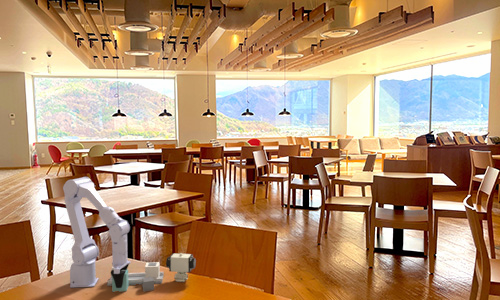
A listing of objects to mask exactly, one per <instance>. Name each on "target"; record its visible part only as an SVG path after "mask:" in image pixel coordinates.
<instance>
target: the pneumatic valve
mask: <svg viewBox="0 0 500 300" xmlns="http://www.w3.org/2000/svg"><path fill="white" fill-rule="evenodd" d="M196 263H197V260H196V258H195V257H194V254H193V253H192V254H191V253H182V252H180V253H173V252H172V254H171V255H169V256H167V257H166V261H165V267H166V268H167V269H168V271H169V272H172V273H173V272H174V280H175V282H176V283H177V282H179V283H185V282H186V281H187V280H188V278H189V274H188V273H191V272H192V270H193V269H194V270H195V268H196V265H197V264H196Z"/></svg>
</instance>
